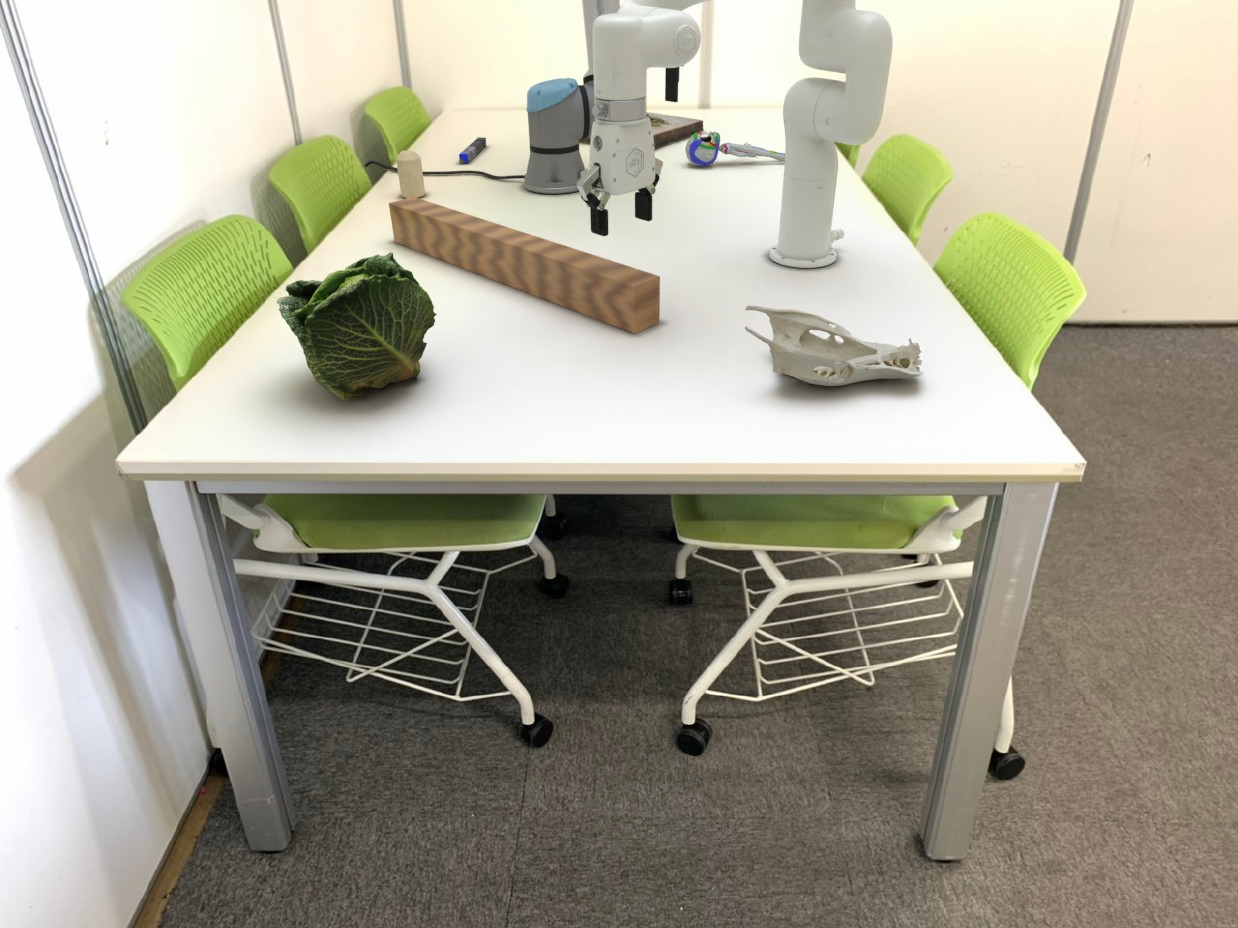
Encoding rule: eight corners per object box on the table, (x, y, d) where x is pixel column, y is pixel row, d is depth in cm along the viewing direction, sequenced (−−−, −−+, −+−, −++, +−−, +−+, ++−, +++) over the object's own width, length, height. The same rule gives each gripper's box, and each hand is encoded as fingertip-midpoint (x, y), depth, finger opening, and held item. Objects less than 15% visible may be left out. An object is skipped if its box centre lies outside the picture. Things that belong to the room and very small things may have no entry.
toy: (809, 146, 225) (693, 132, 220) (801, 180, 229) (687, 167, 224) (798, 137, 233) (686, 124, 229) (791, 170, 238) (681, 158, 233)
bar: (394, 242, 182) (388, 203, 177) (418, 235, 185) (413, 196, 181) (634, 334, 142) (634, 286, 137) (659, 323, 145) (660, 276, 141)
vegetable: (353, 408, 136) (266, 297, 128) (458, 337, 138) (379, 222, 130) (352, 443, 118) (251, 316, 110) (474, 360, 119) (382, 229, 111)
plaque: (647, 125, 237) (559, 112, 252) (647, 153, 241) (560, 139, 256) (706, 107, 258) (622, 97, 273) (705, 133, 262) (622, 121, 277)
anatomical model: (746, 295, 131) (922, 298, 128) (744, 352, 136) (913, 356, 133) (742, 338, 119) (937, 342, 115) (741, 399, 124) (927, 405, 120)
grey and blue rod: (485, 137, 250) (466, 155, 233) (486, 145, 251) (467, 163, 234) (478, 137, 250) (458, 155, 233) (478, 145, 251) (459, 163, 234)
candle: (429, 193, 211) (424, 149, 206) (417, 199, 207) (411, 154, 201) (409, 191, 213) (403, 147, 207) (396, 197, 208) (390, 153, 203)
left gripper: (621, -8, 156) (622, 120, 167) (707, -19, 171) (703, 99, 183) (590, -10, 160) (593, 115, 171) (676, -21, 176) (674, 94, 187)
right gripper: (596, 123, 122) (599, 245, 131) (679, 104, 132) (677, 219, 141) (558, 115, 126) (564, 234, 135) (642, 97, 137) (642, 209, 146)
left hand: (650, 107), depth 177 cm, fingers open, 13 cm apart
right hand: (622, 226), depth 138 cm, fingers open, 9 cm apart
